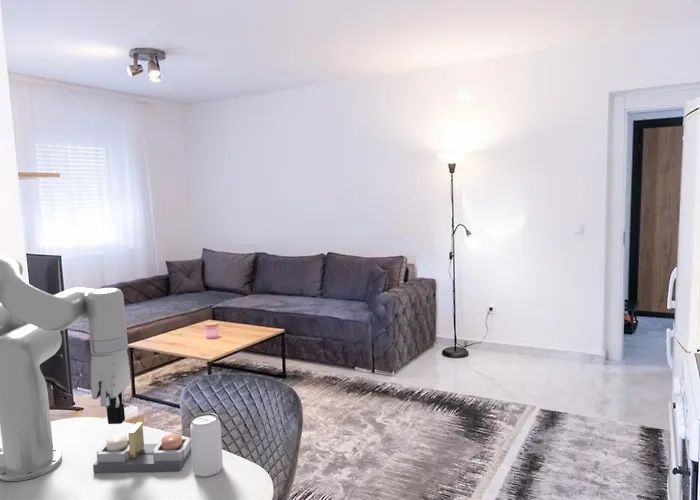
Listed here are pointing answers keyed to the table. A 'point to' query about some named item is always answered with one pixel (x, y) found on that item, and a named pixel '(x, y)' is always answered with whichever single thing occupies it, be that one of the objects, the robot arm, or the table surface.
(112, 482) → the table surface
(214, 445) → the can
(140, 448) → the thick plank
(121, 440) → the cream button
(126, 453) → the panel
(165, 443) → the terracotta button
